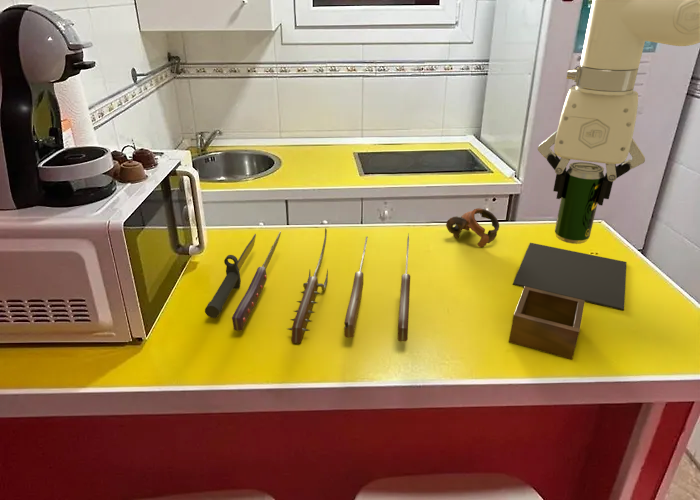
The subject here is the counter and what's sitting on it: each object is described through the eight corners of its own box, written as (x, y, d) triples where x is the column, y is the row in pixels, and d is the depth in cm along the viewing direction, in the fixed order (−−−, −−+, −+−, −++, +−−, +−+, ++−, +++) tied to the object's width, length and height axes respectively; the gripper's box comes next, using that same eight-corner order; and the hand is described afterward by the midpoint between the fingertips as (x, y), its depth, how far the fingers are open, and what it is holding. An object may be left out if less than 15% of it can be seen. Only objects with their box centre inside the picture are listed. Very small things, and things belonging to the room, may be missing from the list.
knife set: (411, 252, 112) (412, 220, 108) (406, 355, 84) (408, 317, 80) (254, 245, 116) (250, 214, 112) (199, 341, 88) (191, 304, 84)
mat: (626, 263, 111) (626, 261, 111) (623, 310, 95) (624, 309, 95) (529, 243, 119) (530, 242, 118) (512, 284, 103) (512, 283, 103)
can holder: (578, 326, 91) (585, 300, 88) (572, 359, 83) (579, 331, 80) (519, 311, 94) (524, 286, 92) (508, 342, 87) (513, 314, 84)
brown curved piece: (476, 228, 127) (495, 206, 121) (488, 259, 122) (508, 238, 116) (434, 222, 122) (451, 199, 116) (444, 254, 117) (463, 232, 111)
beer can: (553, 241, 84) (568, 170, 78) (554, 228, 88) (567, 160, 83) (589, 246, 82) (607, 174, 76) (588, 233, 86) (604, 163, 81)
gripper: (539, 79, 74) (519, 198, 82) (676, 89, 67) (640, 217, 76) (545, 72, 80) (527, 183, 88) (672, 80, 73) (639, 199, 82)
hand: (579, 198), depth 82 cm, fingers closed on beer can, 5 cm apart
